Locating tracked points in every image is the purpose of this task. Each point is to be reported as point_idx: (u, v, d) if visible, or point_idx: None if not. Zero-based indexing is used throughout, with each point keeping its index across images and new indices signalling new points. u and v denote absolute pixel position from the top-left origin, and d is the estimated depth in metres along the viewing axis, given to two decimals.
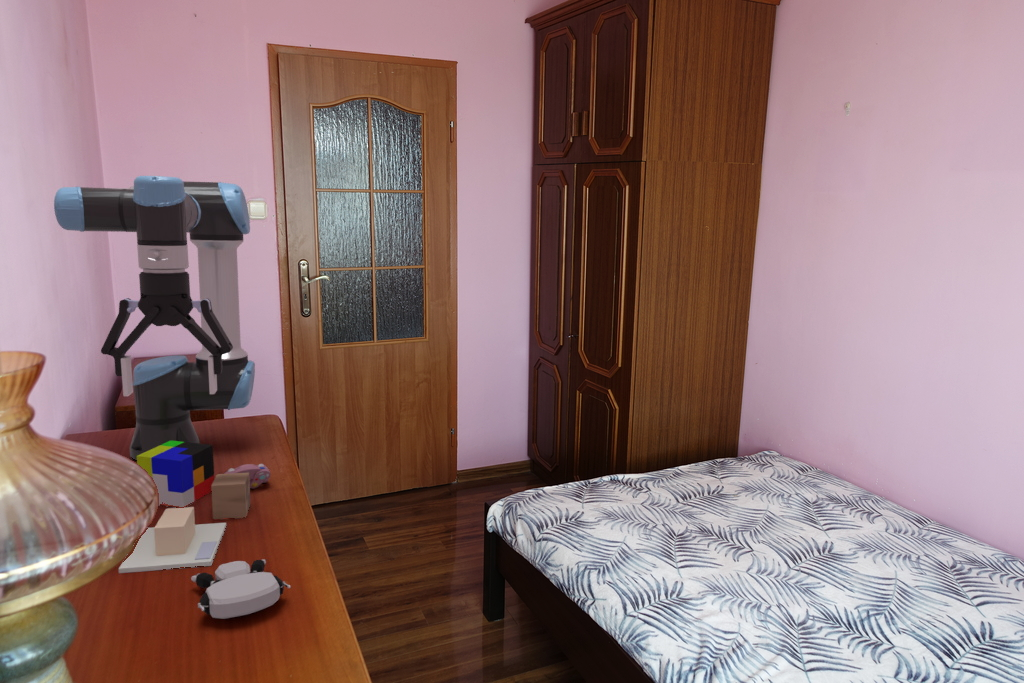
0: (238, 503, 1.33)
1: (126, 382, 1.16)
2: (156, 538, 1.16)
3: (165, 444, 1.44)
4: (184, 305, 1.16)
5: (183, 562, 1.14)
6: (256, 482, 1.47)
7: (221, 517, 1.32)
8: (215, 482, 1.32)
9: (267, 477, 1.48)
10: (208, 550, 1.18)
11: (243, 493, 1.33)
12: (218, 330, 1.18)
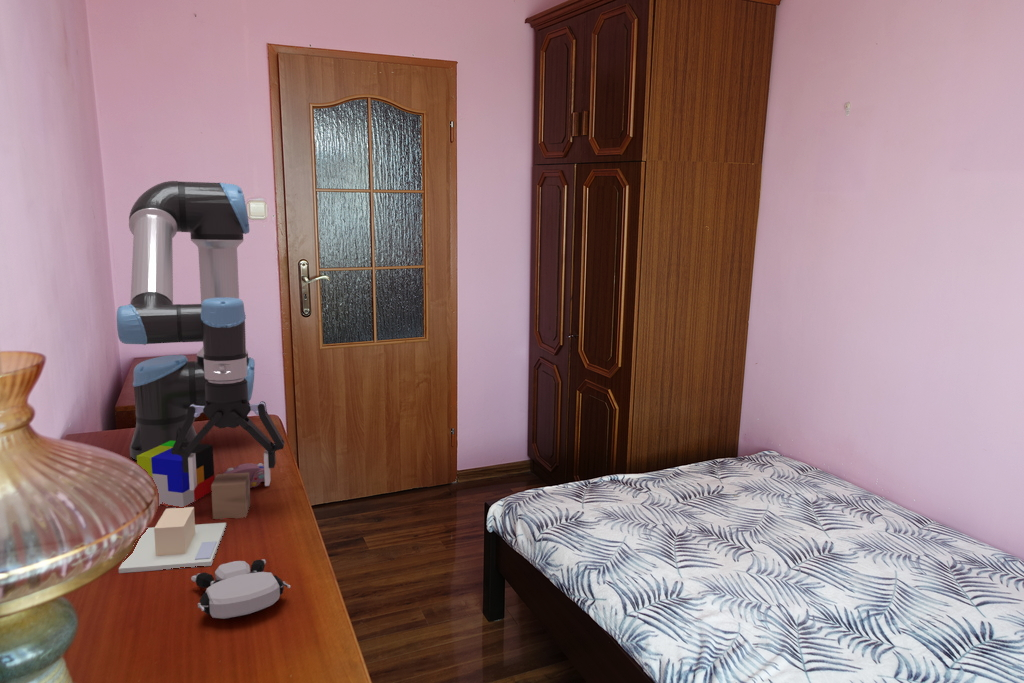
0: (238, 503, 1.33)
1: (192, 478, 1.31)
2: (156, 538, 1.16)
3: (165, 444, 1.44)
4: (243, 409, 1.31)
5: (183, 562, 1.14)
6: (255, 481, 1.47)
7: (221, 517, 1.32)
8: (215, 482, 1.32)
9: None
10: (208, 550, 1.18)
11: (243, 493, 1.33)
12: (273, 430, 1.33)
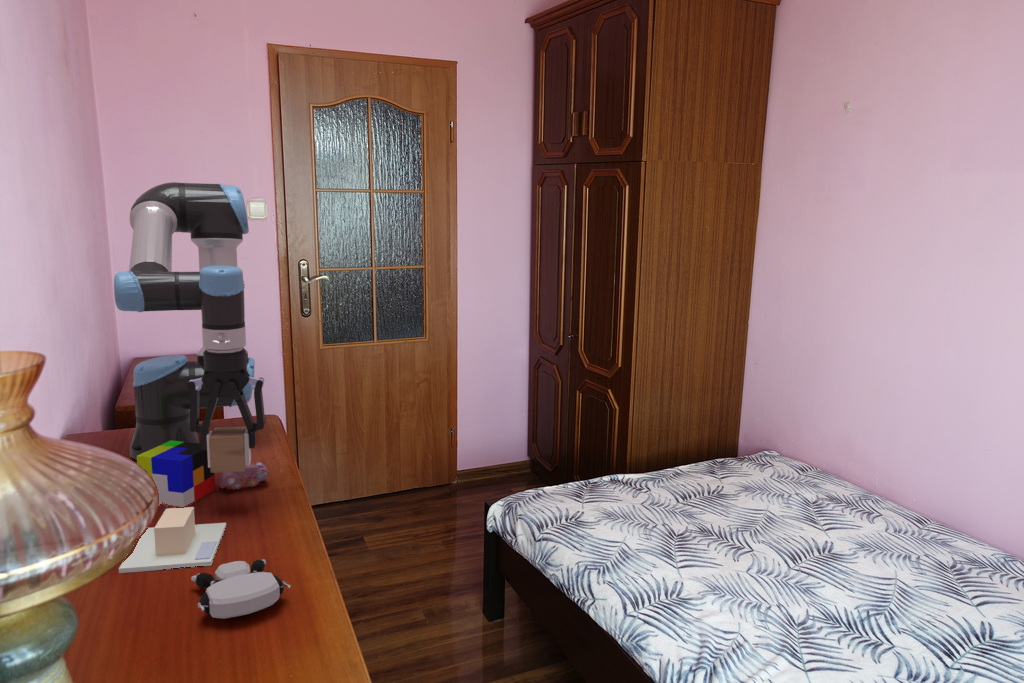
0: (236, 456, 1.31)
1: None
2: (156, 538, 1.16)
3: (165, 444, 1.44)
4: (242, 379, 1.31)
5: (183, 562, 1.14)
6: (254, 480, 1.48)
7: (219, 470, 1.31)
8: (213, 435, 1.31)
9: (265, 475, 1.48)
10: (208, 550, 1.18)
11: (241, 446, 1.31)
12: (261, 409, 1.32)
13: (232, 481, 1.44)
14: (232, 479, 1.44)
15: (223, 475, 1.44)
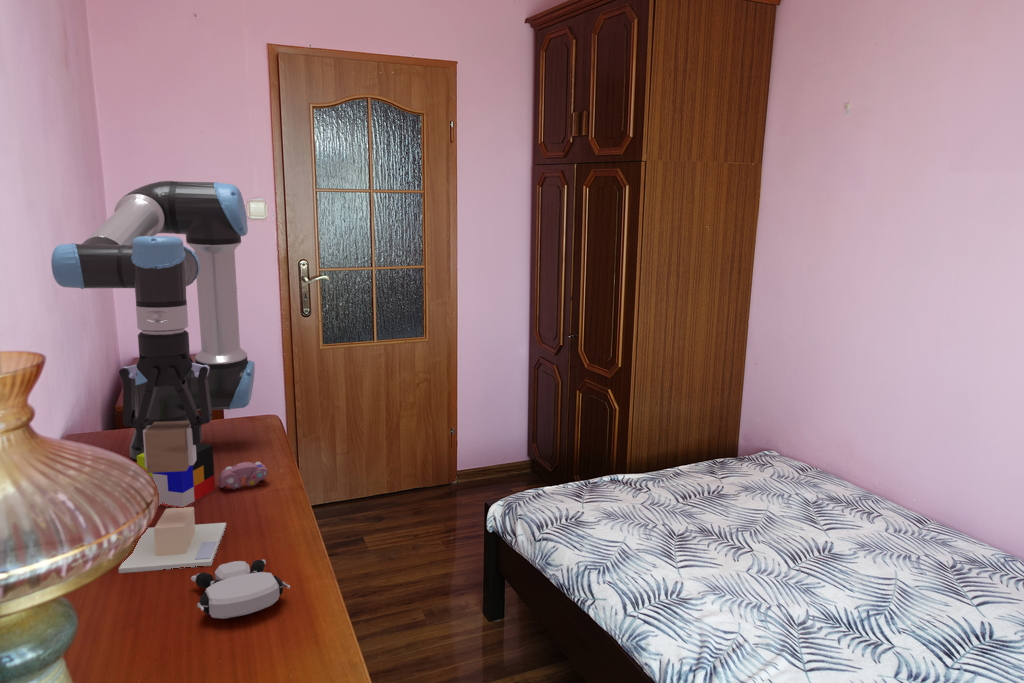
0: (177, 453, 1.15)
1: None
2: (156, 538, 1.16)
3: None
4: (184, 365, 1.14)
5: (183, 562, 1.14)
6: (253, 480, 1.48)
7: (157, 469, 1.15)
8: (150, 429, 1.14)
9: (264, 475, 1.49)
10: (208, 550, 1.18)
11: (182, 442, 1.15)
12: (205, 399, 1.16)
13: (231, 480, 1.44)
14: (231, 478, 1.44)
15: (222, 474, 1.44)
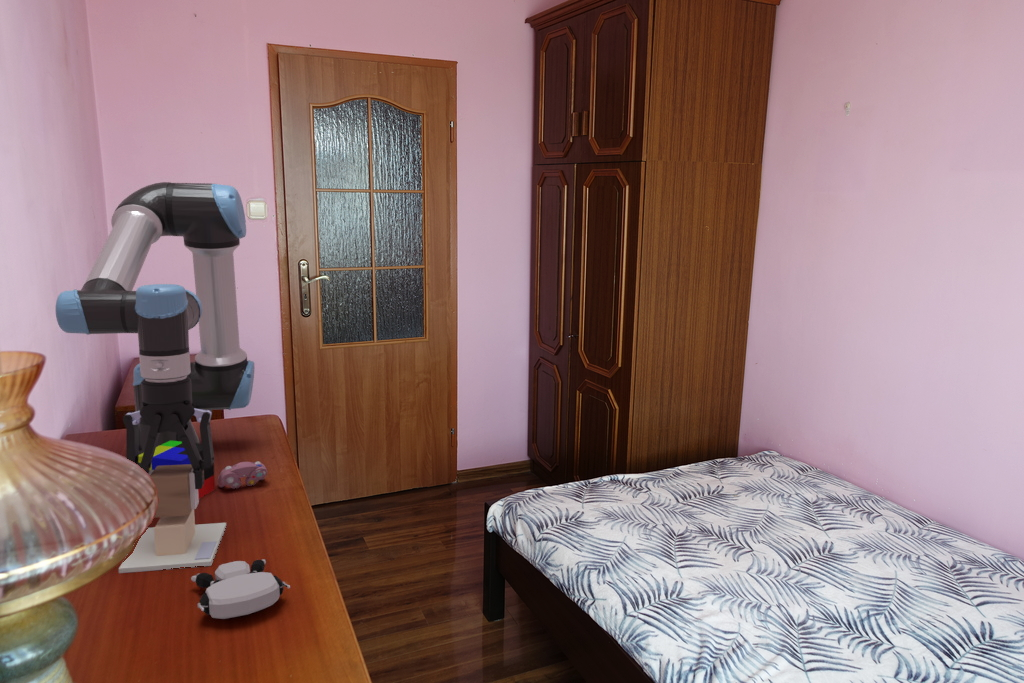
0: (179, 498, 1.16)
1: None
2: (156, 538, 1.16)
3: (165, 444, 1.44)
4: (186, 411, 1.16)
5: (183, 562, 1.14)
6: (253, 479, 1.48)
7: (160, 514, 1.16)
8: (153, 475, 1.16)
9: (264, 474, 1.49)
10: (208, 550, 1.18)
11: (185, 487, 1.16)
12: (208, 445, 1.18)
13: (231, 480, 1.44)
14: (231, 478, 1.44)
15: (222, 474, 1.44)
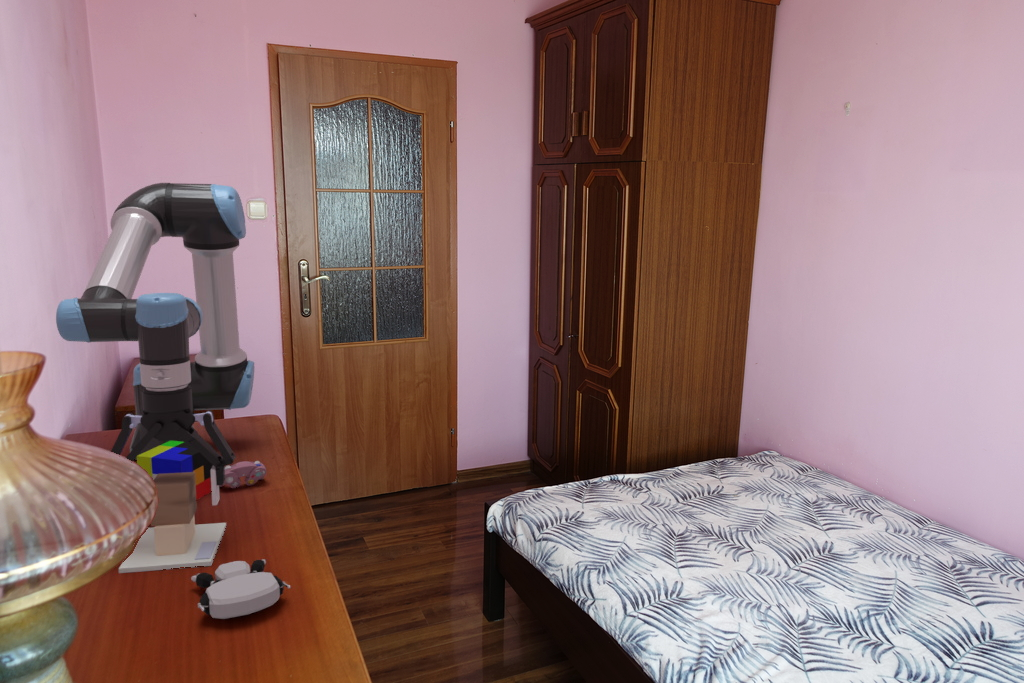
0: (180, 507, 1.17)
1: None
2: (156, 538, 1.16)
3: (165, 444, 1.44)
4: (187, 420, 1.16)
5: (183, 562, 1.14)
6: (252, 479, 1.49)
7: (160, 523, 1.16)
8: None
9: (263, 474, 1.49)
10: (208, 550, 1.18)
11: (186, 495, 1.16)
12: (221, 443, 1.18)
13: (230, 480, 1.45)
14: (230, 478, 1.45)
15: None
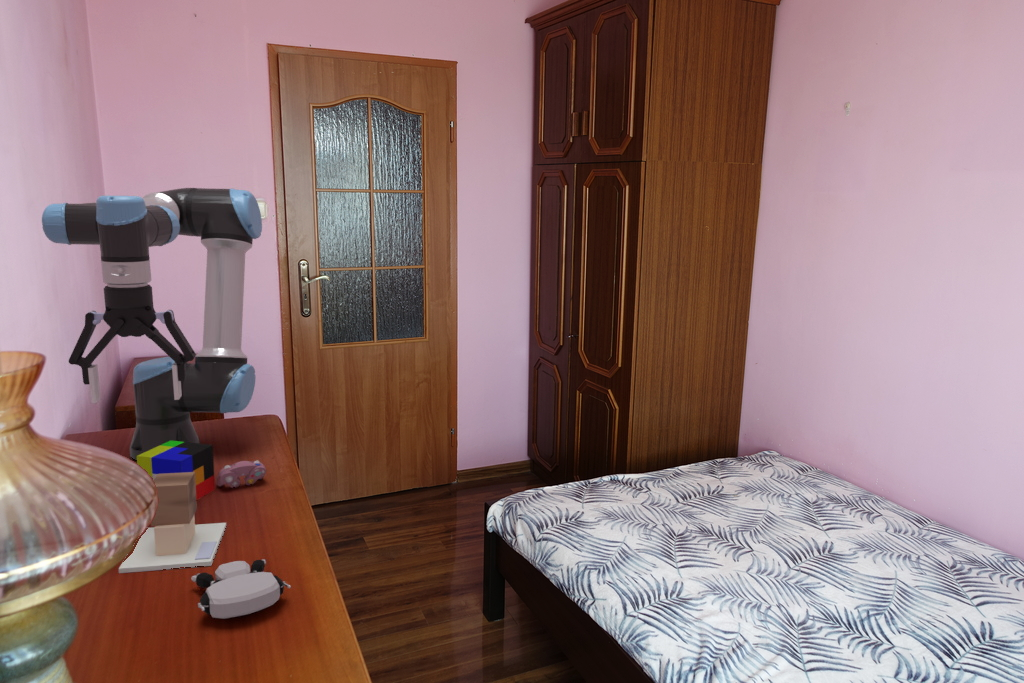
0: (180, 507, 1.17)
1: (94, 390, 1.23)
2: (156, 538, 1.16)
3: (165, 444, 1.44)
4: (148, 317, 1.23)
5: (183, 562, 1.14)
6: (252, 479, 1.49)
7: (160, 523, 1.16)
8: None
9: (263, 473, 1.49)
10: (208, 550, 1.18)
11: (186, 495, 1.16)
12: (181, 340, 1.25)
13: (230, 479, 1.45)
14: (230, 477, 1.45)
15: (221, 473, 1.45)
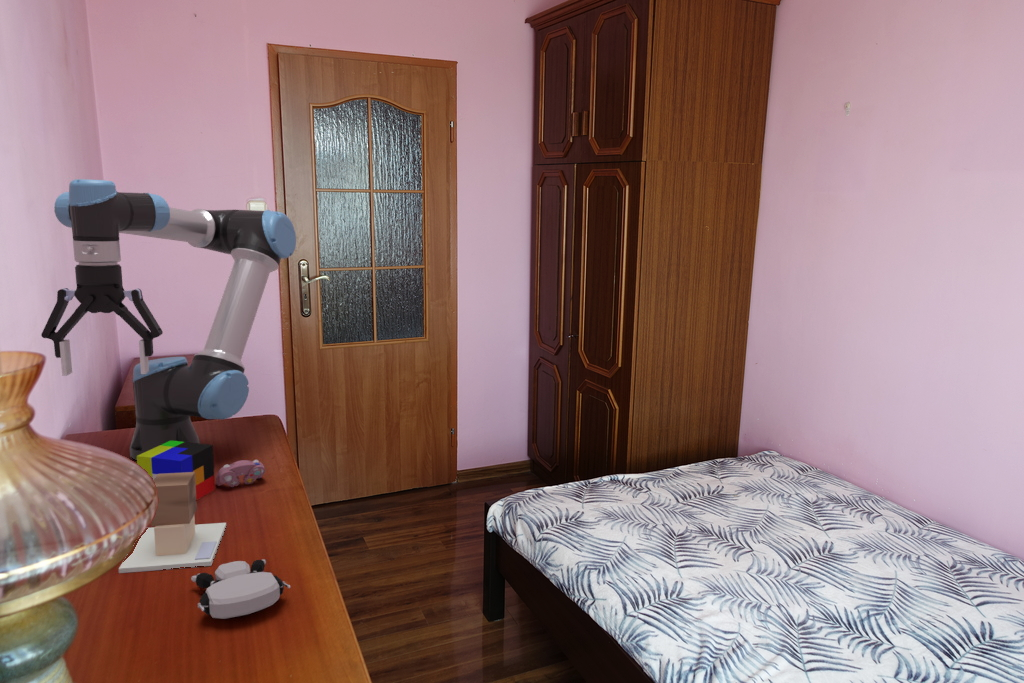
0: (180, 507, 1.17)
1: (64, 363, 1.30)
2: (156, 538, 1.16)
3: (165, 444, 1.44)
4: (116, 294, 1.30)
5: (183, 562, 1.14)
6: (251, 478, 1.49)
7: (160, 523, 1.16)
8: None
9: (262, 473, 1.50)
10: (208, 550, 1.18)
11: (186, 495, 1.16)
12: (148, 317, 1.32)
13: (229, 478, 1.45)
14: (229, 476, 1.45)
15: (220, 472, 1.45)
